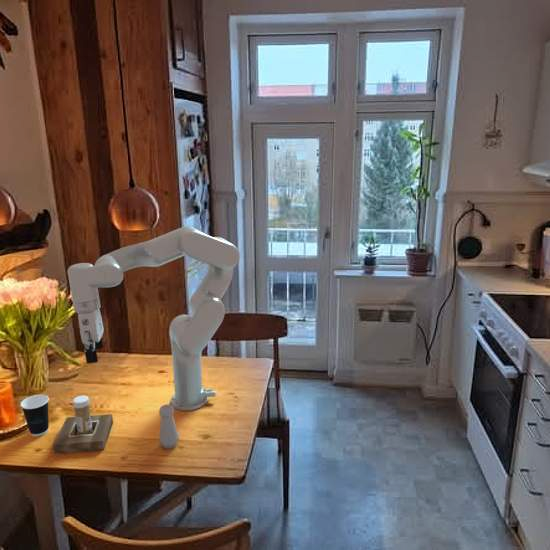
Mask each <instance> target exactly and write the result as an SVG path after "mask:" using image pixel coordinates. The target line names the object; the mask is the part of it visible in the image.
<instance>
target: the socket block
mask: <svg viewBox="0 0 550 550" xmlns="http://www.w3.org/2000/svg"><path fill="white" fill-rule="evenodd" d="M91 421H92V430H93V434H87V435H78V430H77V425H76V418H75V416H73V417H71V416H70V417H69V416H68V417H66V418H65V421H64V422H63V425H62V426H61V428H60V430H59V432H58V434H57V436H56V438H55V440H54V442H53V444H52V448H53V454H54V455H59V454H61V455H62V454H72V453H73V454H74V453H85V452H86V453H87V452H98V451H105V448H106V445H107V443H108V439H109V436H110V433H111V431H112V427H113V424H114V419H113V414H112V413H111V414H110V413H109V414H100V415H99V414H97V415H91Z"/></svg>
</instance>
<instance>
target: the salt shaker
mask: <svg viewBox="0 0 550 550" xmlns="http://www.w3.org/2000/svg"><path fill="white" fill-rule="evenodd" d="M158 414H159V416H160V426H159V435H158V438H159V439H158V442H159V443H160V445H161V446H162V449H165V450H171V449H173V448H176V445H177V443H178V441H179V433H178V429H177V426H176V422H175V419H174V414H175V408H174V407H173V406H172V405H171V404H163V405H161V406H160V407H159V410H158Z"/></svg>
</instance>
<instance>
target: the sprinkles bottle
mask: <svg viewBox="0 0 550 550" xmlns="http://www.w3.org/2000/svg"><path fill="white" fill-rule="evenodd" d="M72 405H73V409H74V417H75V418H76V425H77V430H78V432H77V435H87V434H93V432H94V431H93V430H92V421H91V416H92V414H91V410H90V409H91V408H90V399H89V397H88V396H87V395H78V396H76V397H74V399H72Z"/></svg>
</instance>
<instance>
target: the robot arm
mask: <svg viewBox="0 0 550 550" xmlns="http://www.w3.org/2000/svg"><path fill="white" fill-rule="evenodd" d="M240 253H241V252H240V250H239V249H238V247H237V246H235V244H233V243H231V242H230V241H228V240H226V239H225V238H223V237H219V236H214V237H213V236H211V235H208V234H205V233H204V232H201V231H200V230H199V229H197V228H195V227H193V226H189V225H187V226H182V227H180V228H177V229H174V230H171V231H169V232H167V233H165V234H161V235H160V236H157V237H155V238H152V239H150V240H147V241H142V242H139V243H136V244H135V243H134V244H131V245H127V246H124V247H121V248H119V249H115V250H113V251H111V252H109V253H107V254H104V255H101V256H100V257H99V258H98V259H97V260H96V261H95V263H94V265H93V264H92V263H90V262H81V263H75V264H72V265H70V266H69V267H68V269H67V277H68V282H69V283H68V284H69V287H70V295H71V300H72V306H73V310H74V313H77V317H78V325H79V335H80V338H81V342H82V343H83V349H84V356H85V360H86V361H85V362H86V363H87V364H94V363H98V361H99V359H98V353H97V352H98V351H97V350H99V349H103V348H104V341H103V334H104V331H105V328H104V323H103V318H102V314H101V310H100V308H101V307H102V306H101V299H100V294H99V289H98V288H113V287H116V286H118V285H120V284H121V283H122V281H123V279H124V272H126V271H128V270H131V269H135V268H139V267H150V268H152V267H153V268H155V267H160V266H163V265H165V264H168V263H170V262H172V261H175V260H177V259H180V258H182V257H184V256H187V257H189V258H190V259H193V260H196V261H198V262H200V263H204V264H207V265H208V269H207V272H206V274H205V275H204V277H203V279H202V281H201V282H200V284H199V285H198V286H197V287H196V289H195V290H194V292H193V294H192V295H191V297H190V300H189V302H188V307H189V310H190V311H191V313H192V316H191V315H188V314H179V315H178V316H175V317H174V318H173V319H172V320H171V323H170V325H169V328H168V329H169V331H168V332H169V339H170V345H171V346H170V347H171V356H172V369H173V370H172V371H173V372H172V373H173V383H174V384H173V385H174V394H173V395H172V396H171V398H170V405H172V406H173V407H174V409H176V410H178V411H194V410H198V409H200V408H202V407H203V406H204V405H206V404H207V401H208V398H214V397H217V395H216V390H213V388H206V387H205V386H204V384H203V374H202V371H203V370H202V353H201V352H202V351H203V350H204V349H205V348H206V346H208V344H209V342H210V341H211V339H212V338H213V336H214V335H215V333H216V332H217V330H218V329H219V327H220V326H221V324H222V323H223V320H224V317H225V314H226V308H225V305H224V303H223V301H222V298H223V297H224V294H225V293H226V291H227V289H228V288H229V286H230V284H231V282H232V279H233V274H234V268H235V267H236V266H237V265H238V263H239V262H240V258H241V254H240ZM204 387H205V388H204Z"/></svg>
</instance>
